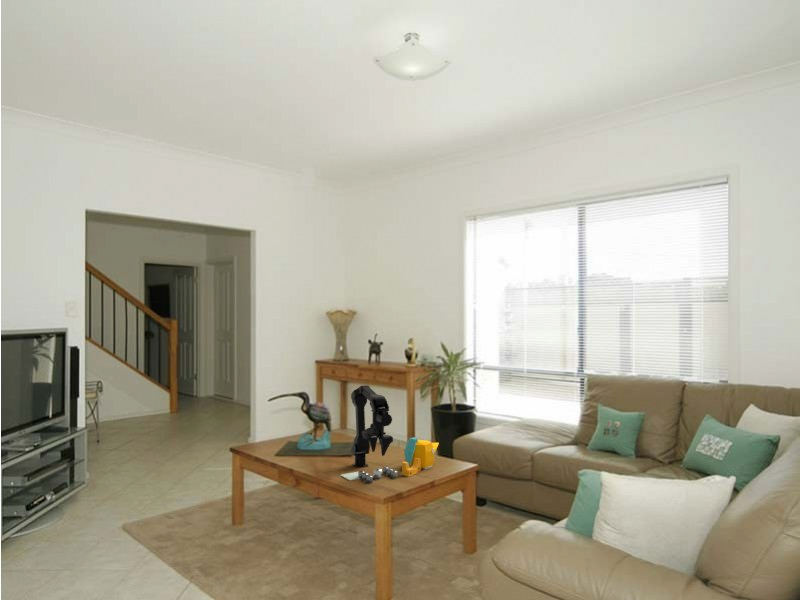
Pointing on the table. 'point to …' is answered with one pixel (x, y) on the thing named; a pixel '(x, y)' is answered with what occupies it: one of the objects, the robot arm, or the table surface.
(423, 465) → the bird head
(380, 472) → the stepped steel cylinder
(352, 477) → the sage mat
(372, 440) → the robot arm
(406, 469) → the pipe clamp
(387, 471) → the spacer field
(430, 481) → the table surface
